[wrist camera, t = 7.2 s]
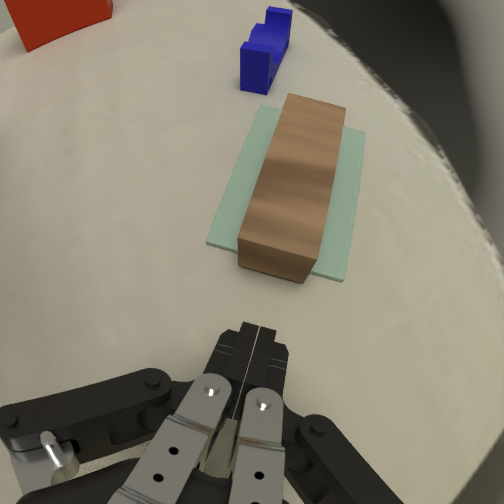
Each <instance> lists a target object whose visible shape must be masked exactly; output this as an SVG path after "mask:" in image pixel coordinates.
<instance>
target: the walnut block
mask: <svg viewBox="0 0 504 504" xmlns="http://www.w3.org/2000/svg"><path fill="white" fill-rule="evenodd" d="M345 112H346V108H343V107H340V106H336V105H333V104H329V103H326V102H322V101H318V100H314V99H311V98H307V97H303V96H299V95H294V94H290V93H288V95H287V98H286V101H285V103H284V106H283V109H282V112H281V114H280V117H279V120H278V123H277V126H276V128H275V131H274V134H273V137H272V139H271V142H270V145H269V148H268V151H267V153H266V156H265V159H264V162H263V165H262V168H261V170H260V173H259V176H258V179H257V182H256V185H255V188H254V190H253V193H252V196H251V199H250V202H249V205H248V208H247V211H246V213H245V216H244V219H243V222H242V225H241V228H240V231H239V234H238V237H237V243H238V263H239V265H240V266H243V267H247V268H250V269H254V270H257V271H261V272H264V273H268V274H271V275H275V276H279V277H282V278H286V279H289V280H293V281H296V282H300V283H304V281H305V280H306V278H307V276H308V275H309V273H310V271H311V270H312V268H313V266H314V265H315V263H316V261H317V259H318V255H319V251H320V246H321V242H322V237H323V232H324V228H325V223H326V218H327V213H328V208H329V203H330V198H331V193H332V188H333V182H334V177H335V172H336V166H337V161H338V155H339V149H340V143H341V137H342V131H343V125H344V118H345Z"/></svg>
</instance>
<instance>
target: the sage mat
mask: <svg viewBox="0 0 504 504" xmlns="http://www.w3.org/2000/svg"><path fill="white" fill-rule="evenodd" d="M281 112H282V109H277V108H273V107H268V106H264V105H261V106H260V109H259V111H258V113H257V115H256V118H255V120H254V122H253V125H252V127H251V130H250V132H249V134H248V137H247V139H246V141H245V144H244V146H243V149H242V151H241V153H240V156H239V158H238V161H237V163H236V166H235V168H234V170H233V173H232V175H231V178H230V180H229V183H228V185H227V188H226V190H225V193H224V195H223V198H222V200H221V203H220V206H219V208H218V211H217V213H216V216H215V218H214V221H213V224H212V226H211V229H210V231H209V234H208V237H207V239H206V244H208V245H212V246H215V247H219V248H222V249H226V250H230V251H233V252H237V253H238V243H237V237H238V234H239V231H240V228H241V225H242V222H243V219H244V216H245V213H246V211H247V208H248V205H249V202H250V199H251V196H252V193H253V190H254V188H255V185H256V182H257V179H258V176H259V173H260V170H261V168H262V165H263V162H264V159H265V156H266V153H267V151H268V148H269V145H270V142H271V139H272V137H273V134H274V131H275V128H276V126H277V123H278V120H279V117H280V114H281ZM364 141H365V132H361V131H358V130H355V129H352V128H349V127H345V126H343V131H342V137H341V143H340V149H339V155H338V161H337V166H336V172H335V177H334V182H333V188H332V193H331V198H330V203H329V208H328V213H327V218H326V223H325V228H324V232H323V237H322V242H321V246H320V251H319V255H318V259H317V261H316V263H315V265H314V266H313V268H312V270H311V271H310V273H312V274H315V275H319V276H322V277H326V278H330V279H333V280H337V281H340V282H343V281H344V277H345V272H346V267H347V261H348V256H349V250H350V244H351V239H352V233H353V226H354V220H355V213H356V207H357V200H358V192H359V185H360V177H361V169H362V160H363V151H364Z"/></svg>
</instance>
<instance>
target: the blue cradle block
mask: <svg viewBox="0 0 504 504" xmlns="http://www.w3.org/2000/svg"><path fill="white" fill-rule="evenodd" d="M292 12H293V10H289V9H283V8H277V7H270V6H269V7H268V9H267V10H266V18H265V24H259V23H257V24H256V25H255V26H254V28H253V29H252V31H251V34H250V38H249V41H248V42H244V43H243V45H242V46H241V48H240V90H242V91H247V92H253V93H258V94H263V95H267V94H268V91H269V89H270V87H271V84H272V82H273V80H274V77H275V75H276V73H277V70H278V68H279V66H280V63H281V61H282V59H283V57H284V54H285V52H286V50H287V48H288V45H289V38H290V29H291V21H292Z"/></svg>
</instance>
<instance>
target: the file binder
mask: <svg viewBox="0 0 504 504" xmlns="http://www.w3.org/2000/svg"><path fill="white" fill-rule="evenodd" d="M4 1H5V3H6V6H7V8H8V11H9V13H10V15H11V17H12V20H13V22H14V24H15V27H16V29H17V31H18V33H19V35H20V37H21V39H22V42H23V44H24V46H25V48H26V50H27V52H30V51H32V50H34V49H36V48H38V47H40V46H42V45H44V44H47V43H49V42H51V41H53V40H55V39H58V38H60V37H62V36H65V35H67V34H69V33H72V32H74V31H77V30H79V29H82V28H85V27H87V26H90V25H93V24H96V23H98V22H101V21H104V20H107V19H110V18H112V9H113V3H112V0H4Z"/></svg>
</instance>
